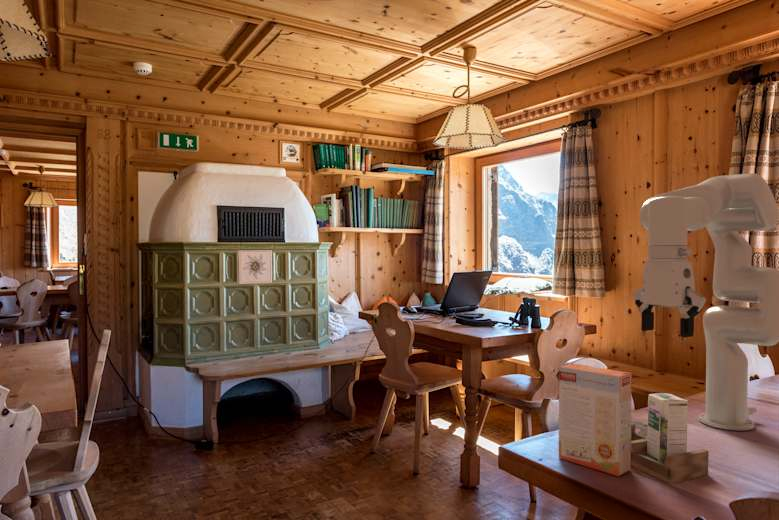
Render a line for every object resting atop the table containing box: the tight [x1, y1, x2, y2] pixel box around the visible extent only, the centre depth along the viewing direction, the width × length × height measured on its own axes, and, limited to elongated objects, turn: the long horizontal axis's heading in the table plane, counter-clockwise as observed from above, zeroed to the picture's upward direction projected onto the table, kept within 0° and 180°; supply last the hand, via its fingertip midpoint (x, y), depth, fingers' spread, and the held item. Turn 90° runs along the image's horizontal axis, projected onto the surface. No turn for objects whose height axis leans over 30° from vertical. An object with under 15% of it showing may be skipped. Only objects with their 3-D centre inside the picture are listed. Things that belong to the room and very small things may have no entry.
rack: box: [631, 423, 709, 485], centre depth 120 cm, size 11×20×5 cm, turn 23°
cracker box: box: [558, 363, 632, 477], centre depth 119 cm, size 14×6×21 cm, turn 42°
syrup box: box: [647, 392, 689, 464], centre depth 116 cm, size 6×6×14 cm
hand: (666, 333), depth 118 cm, fingers open, 9 cm apart
